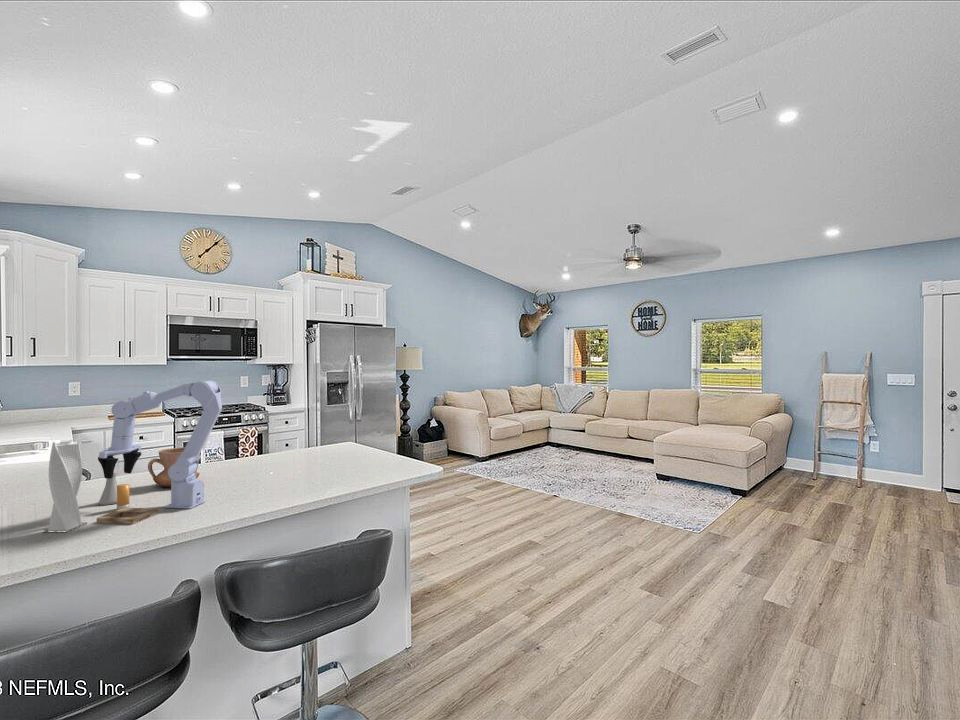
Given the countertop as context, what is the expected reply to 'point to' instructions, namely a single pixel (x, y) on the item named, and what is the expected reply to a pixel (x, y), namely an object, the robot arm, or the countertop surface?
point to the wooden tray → (127, 515)
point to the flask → (109, 492)
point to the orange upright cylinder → (123, 496)
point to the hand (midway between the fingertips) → (118, 475)
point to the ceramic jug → (166, 465)
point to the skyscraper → (65, 484)
